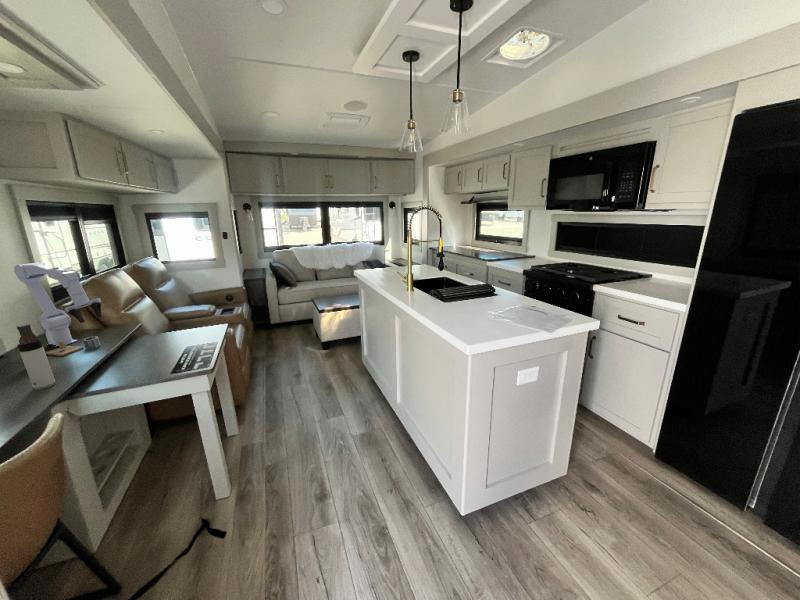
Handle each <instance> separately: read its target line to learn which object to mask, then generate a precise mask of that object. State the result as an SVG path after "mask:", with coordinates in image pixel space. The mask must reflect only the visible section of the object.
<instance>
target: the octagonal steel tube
mask: <svg viewBox="0 0 800 600" xmlns="http://www.w3.org/2000/svg"><path fill="white" fill-rule="evenodd" d="M82 342H83V345H84V348H85V350H87V349H90V350H95V349H98V348H100V347H101V346H100V345H101V342H100V339H99V336H96V335H95V336H93V335H92V336H90V337H85V338H83V339H82ZM99 346H100V347H99ZM97 347H98V348H97ZM94 348H95V349H94Z"/></svg>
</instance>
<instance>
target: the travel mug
mask: <svg viewBox="0 0 800 600" xmlns="http://www.w3.org/2000/svg"><path fill="white" fill-rule="evenodd" d="M16 346H17V349H18V351H19V355H20V357H21V360H22V361H23V364H24V367H25V369H26V373H27V375H28V378H29V381H30V382H31V385H32V388H33V390H35V391H41V390H44V389H48V388H50V386H51V387H53V386H54V385H56V382H57V381H56V379H55V377H54V374H53V370H52V367H51V365H50V362H49V360H48V359H49V358H48V357H47V356H48V355H46V354H45V352H46V351H45V348H44V345H43V343H42V341H41V339H40V340H33V341H31V342H26V343H21V344H20V343H19V344H17V345H16ZM52 385H53V386H52Z"/></svg>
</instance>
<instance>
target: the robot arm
mask: <svg viewBox="0 0 800 600" xmlns="http://www.w3.org/2000/svg"><path fill="white" fill-rule="evenodd" d="M13 272H14V274H15V276H16V277H17V279H18V280H19V281H20V283H24V284H25V286H26V287H27V289H28V291H29V292H30V293H31V295H32V297H33V298H34V300H35V302H36V303H37V305H38V307H39V308H40V310H41V311H42V314H41V315H40V316H39V318H38V319H39V322H40V325H41V327H42V328H43V329H44V330H46V331H45V336H46V340H47V342H48V344H53V345H56V346H55V347H57V346H59V344H58V342H59V341H64V344H65V345H66V346H68V345H69V344H72V343H75V342H78V339H73V338H72V335H71V331H70V328H69V326H70V324H71V323H72V320H71V319H72V318H71V317H70V316H72V317H74V318H75V319H76V320H77V321H78V322H79V323H80V324H82V323H86V320H85V319H84V317H83V314H82V312H81V309H82V308H84V307H87V306H89V307H90V308H91V309H92V311H93V312H94V314H95V315H96V317H97V318H98V319H99V318H102V317H103V316H102V310H101V309H102V300H101V298H100V297H97V298H94V299H91V300H90V299H89V297H88V295H87V292H86V291H85V289H84V288H83V286H82V283H81V282H80V281H81V276H80V273H79V272H78V271H76V270H70V271H69V270H66V269H62V268H60V267H59V266H54V267H50V266H48V265H46V264H45V262H42V261H37V262H32V263H31V262H29V263H24V264H15V266H14V271H13ZM46 275H47V277H48V278H50V279H53V280H56V281H58V283H59V284H60V285H61V286H62V287H63V288H64V289H66V291H67V293H68V295H69V296H70V299H71V301H72V303H73V305H71V306H66V307H65V308H64V310H63V309H58V308H57V307H56V306H55V304H54V303H53V301H52V300H51V297H50V296H49V294H48V293H47V291H46V290H45V288H44V286H43V285H42V283H41V280H43V279H44V278H45V277H46ZM68 314H69V315H68Z"/></svg>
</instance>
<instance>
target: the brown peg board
mask: <svg viewBox="0 0 800 600" xmlns="http://www.w3.org/2000/svg"><path fill="white" fill-rule="evenodd" d="M58 344H59V347H57V348H54V349H52V350H49V351H45V354H49V355H48V356H52V355H57V356H56V357H62V356H63V357H65V355H66V356H67V355H71V354H74V353H76V352H79V351H81V349H82V350H84V347H83V346H76V345H74V346H72V345H65V344H64V341H59V342H58ZM78 350H79V351H78ZM73 352H74V353H73Z"/></svg>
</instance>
